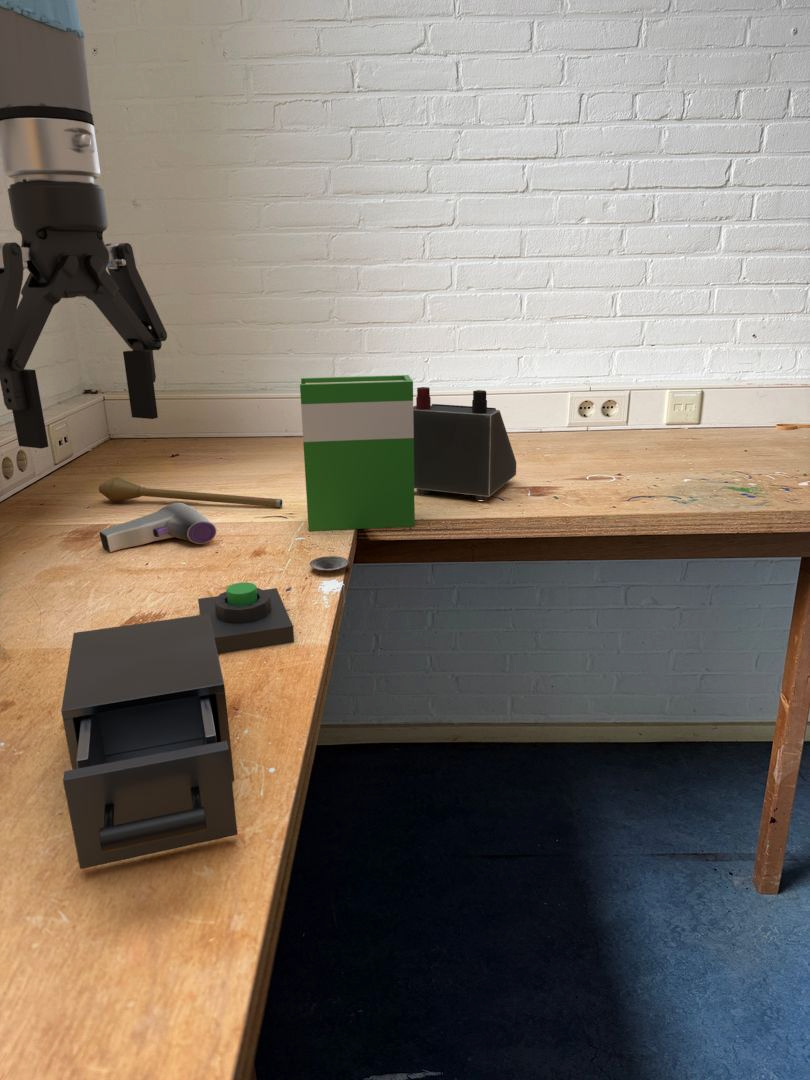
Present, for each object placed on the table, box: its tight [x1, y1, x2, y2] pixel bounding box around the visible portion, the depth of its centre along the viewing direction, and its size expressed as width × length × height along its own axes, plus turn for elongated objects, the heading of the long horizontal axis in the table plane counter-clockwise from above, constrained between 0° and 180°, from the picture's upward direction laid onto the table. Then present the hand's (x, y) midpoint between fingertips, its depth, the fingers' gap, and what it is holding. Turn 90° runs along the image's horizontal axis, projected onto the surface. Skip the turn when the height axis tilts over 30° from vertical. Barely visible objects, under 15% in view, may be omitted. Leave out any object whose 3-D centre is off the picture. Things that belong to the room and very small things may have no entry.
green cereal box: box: [299, 374, 416, 532], centre depth 132 cm, size 18×7×24 cm, turn 95°
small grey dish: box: [309, 555, 350, 573], centre depth 115 cm, size 6×6×1 cm
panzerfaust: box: [98, 476, 283, 509], centre depth 147 cm, size 5×35×5 cm
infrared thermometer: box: [99, 502, 217, 553], centre depth 126 cm, size 5×12×15 cm
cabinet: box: [60, 614, 235, 782], centre depth 72 cm, size 15×13×10 cm
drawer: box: [62, 695, 238, 870], centre depth 63 cm, size 18×11×8 cm, turn 18°
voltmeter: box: [413, 386, 517, 501], centre depth 151 cm, size 16×16×20 cm
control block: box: [197, 587, 295, 655], centre depth 97 cm, size 12×10×4 cm
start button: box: [225, 581, 258, 606], centre depth 96 cm, size 4×4×2 cm
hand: (93, 431), depth 74 cm, fingers open, 13 cm apart
